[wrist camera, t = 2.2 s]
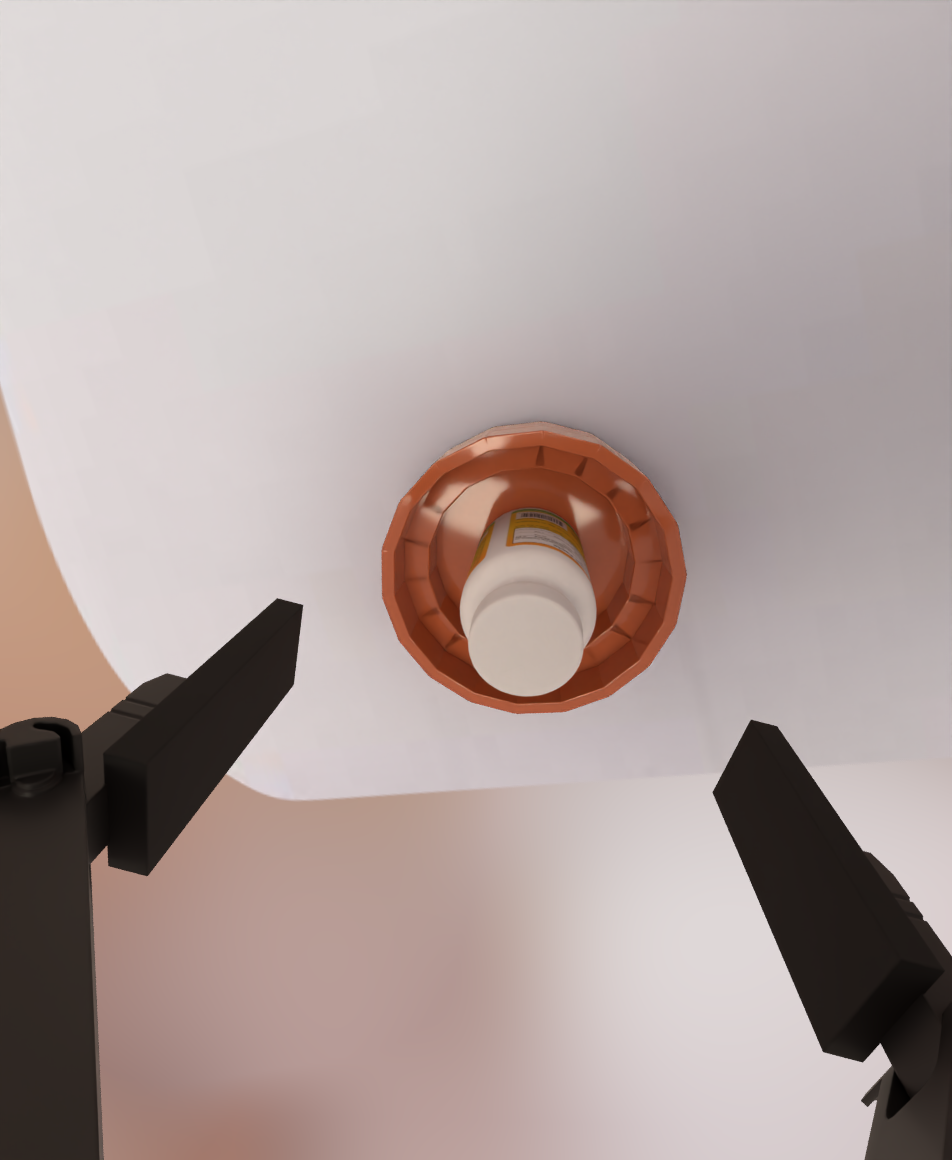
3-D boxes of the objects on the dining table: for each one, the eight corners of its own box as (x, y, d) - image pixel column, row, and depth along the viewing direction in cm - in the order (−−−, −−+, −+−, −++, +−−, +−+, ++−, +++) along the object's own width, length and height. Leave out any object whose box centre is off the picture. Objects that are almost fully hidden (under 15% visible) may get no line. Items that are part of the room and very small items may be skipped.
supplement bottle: (507, 621, 29) (493, 735, 20) (458, 535, 27) (418, 616, 18) (601, 578, 27) (631, 681, 18) (553, 486, 26) (562, 547, 17)
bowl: (719, 554, 26) (753, 588, 22) (527, 708, 31) (526, 760, 27) (532, 358, 24) (530, 355, 20) (354, 554, 29) (323, 586, 25)
